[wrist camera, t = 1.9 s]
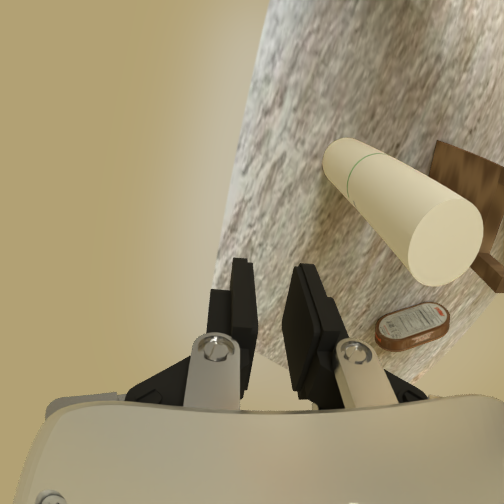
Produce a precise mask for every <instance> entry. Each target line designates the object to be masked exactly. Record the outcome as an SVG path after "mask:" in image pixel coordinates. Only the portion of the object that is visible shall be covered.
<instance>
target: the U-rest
mask: <svg viewBox="0 0 504 504" xmlns="http://www.w3.org/2000/svg"><path fill="white" fill-rule="evenodd" d="M429 177H430V178H432V179H433V180H435V181H437V182H438V183H440V184H442V185H444V186H445V187H447V188H449V189H450V190H452V191H453V192H455V193H457V194H458V195H460V196H462V197H463V198H465V199H466V200H468V201H469V202H471V203H472V204H473V205H474V206H475V207H476V208H477V209H478V211H479V212H480V214H481V217H482V220H483V239H482V244H481V246H480V249H479V252H478V254H477V256H476V258H475V260H474V261H473V263H472V264H471V265H470V267H471V268H472V269H473V270H474V271H475V272H476V273H477V274H478V275H479V276H480V277H481V278H482V279H483V280H484V281H485V282H486V283H487V285H488V286H489V287H490V288H491V289H492V290H493V291H494V292H495V293H504V266H502V265H501V264H500V263H499V262H498V261H497V260H496V259H495V258H493V257H492V256H491V255H490V254H489V253H490V250H491V248H492V245H493V243H494V240H495V237H496V235H497V232H498V229H499V226H500V223H501V221H502V218H503V215H504V167H503V166H501V165H499V164H496V163H494V162H492V161H490V160H487V159H485V158H483V157H480V156H478V155H475V154H473V153H471V152H468V151H466V150H463V149H461V148H458V147H455V146H453V145H450V144H447V143H444V142H441V141H438V140H437V143H436V147H435V152H434V156H433V161H432V165H431V169H430V173H429Z"/></svg>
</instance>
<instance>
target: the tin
mask: <svg viewBox="0 0 504 504" xmlns="http://www.w3.org/2000/svg"><path fill="white" fill-rule="evenodd" d="M449 322H450V314H449V312H448V310H447V309H446V308H445V307H443V306H442V305H440V304H438V303H433V302H425V303H421V304H418V305H415V306H411V307H408V308H405V309H402V310H399V311H395V312H392V313H389V314H386V315H384V316H383V317H381V318H380V319H379V320H378V322H377V324H376V327H375V341H376V343H377V344H378V346H380V347H381V348H382V349H384V350H387V351H391V352H400V351H404V350H407V349H410V348H413V347H416V346H419V345H422V344H425V343H428V342H431V341H433V340H436V339H439V338H441V337H443V336H444V335H445V334H446V333H447V332H448V330H449Z"/></svg>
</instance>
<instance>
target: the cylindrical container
mask: <svg viewBox="0 0 504 504" xmlns="http://www.w3.org/2000/svg"><path fill="white" fill-rule="evenodd" d="M322 165H323V170H324V173H325V175H326V177H327V178H328V180H329V181H330V182H331V183H332V184H333V185H334V186H335V187H336V188H337V189H338V190H339V191H340V192H341V193H342V194H343V195H344V196H345V197H346V199H347V200H348V201H349V202H350V203H351V204H352V205H353V206H354V207H355V208H356V209H357V211H358V212H359V213H360V214H361V215H362V216H363V217H364V218H365V220H366V221H367V222H368V223H369V224H370V225H371V226H372V227H373V229H374V230H375V231H376V232H377V233H378V234H379V235H380V237H381V238H382V239H383V240H384V241H385V243H386V244H387V245H388V246H389V247H390V248H391V250H392V251H393V252H394V253H395V254H396V256H397V257H398V258H399V259H400V261H401V262H402V263H403V264H404V265H405V267H406V268H407V269H408V270H409V272H410V273H411V274H412V275H413V277H414V278H415V279H416V280H417V281H418V282H420V283H422V284H423V285H427V286H441V285H445V284H448V283H450V282H452V281H454V280H455V279H457V278H458V277H459V276H461V275H462V274H463V273H464V272H465V271H466V270H467V269H468V268H469V267H470V265H471V264H472V263H473V261H474V260H475V258H476V256H477V254H478V252H479V249H480V246H481V244H482V239H483V220H482V217H481V214H480V212H479V211H478V209H477V208H476V207H475V206H474V205H473V204H472V203H471V202H469V201H468V200H466V199H465V198H463V197H462V196H460V195H458V194H457V193H455V192H453V191H452V190H450V189H449V188H447V187H445V186H444V185H442V184H440V183H438V182H437V181H435V180H433V179H432V178H430V177H428V176H426V175H425V174H423V173H421V172H419V171H417V170H416V169H414V168H412V167H410V166H408V165H406V164H405V163H403V162H401V161H399V160H397V159H395V158H393V157H391V156H389V155H387V154H385V153H383V152H381V151H379V150H377V149H375V148H373V147H371V146H369V145H367V144H365V143H363V142H361V141H359V140H356V139H354V138H341V139H338V140H336V141H334V142H333V143H331V144H330V145H329V147H328V148H327V149H326V151H325V153H324V156H323V161H322Z"/></svg>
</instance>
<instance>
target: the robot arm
mask: <svg viewBox="0 0 504 504" xmlns="http://www.w3.org/2000/svg"><path fill="white" fill-rule="evenodd" d="M282 331H283V337H284V343H285V349H286V354H287V360H288V366H289V372H290V378H291V383H292V389H293V391H297V392H298V397H299V399H300V400H301V399H308V400H310V401H311V402H313V404H312V410H307V411H246V410H240V399H242V398H243V395H244V390H247V388H248V383H249V378H250V372H251V367H252V361H253V357H254V351H255V346H256V340H257V335H258V316H257V305H256V294H255V283H254V273H253V263H248V260H247V259H244V258H233V263H232V272H231V281H230V291H229V290H217V289H211V292H210V302H209V312H208V323H207V332H206V334H203V335H201V336H199V337H198V338H197V339H196V340H195V341H194V343H193V346H192V352H191V356H189V357H187V358H185V359H183V360H182V361H180V362H178V363H176V364H174V365H173V366H171V367H169V368H167V369H165V370H163V371H162V372H160V373H158V374H156V375H154V376H152V377H151V378H149V379H147V380H145V381H143V382H141V383H139V384H137V385H136V386H134V387H133V388H131V389H130V390H129V391H128V393H127V394H122V395H117V392H111V393H102V394H94V395H83V396H72V397H62V398H58V399H55V400H54V401H52V402H51V403H50V404H49V405H48V407H47V409H46V414H45V418H46V419H45V422H44V423H43V425H42V426H41V428H40V430H39V431H38V433H37V435H36V437H35V439H34V441H33V443H32V446H31V448H30V450H29V452H28V455H27V457H26V460H25V463H24V467H23V469H22V472H21V475H20V479H19V482H18V486H17V489H16V493H15V497H14V501H13V504H504V402H503V401H501V400H499V399H497V398H494V397H490V396H485V395H477V394H468V395H467V394H466V395H455V396H447V397H440V396H435V395H429V396H428V397H427V396H426V395H425V394H424V392H422V391H421V390H420V389H418V388H416V387H415V386H413V385H411V384H409V383H408V382H406V381H404V380H402V379H400V378H399V377H397V376H395V375H393V374H392V373H390V372H388V371H386V370H385V369H383V367H382V365H381V363H380V360H379V358H378V356H377V354H376V352H375V350H374V349H373V347H372V346H370V345H369V344H368V343H367V342H365V341H363V340H360V339H357V338H349V336H348V334H347V331H346V329H345V326H344V324H343V321H342V319H341V316H340V314H339V311H338V309H337V306H336V304H335V301H334V299H333V298H331V297H327V295H326V292H325V290H324V287H323V285H322V282H321V280H320V277H319V275H318V272H317V270H316V267H315V265H314V264H304V263H300V264H299V266H298V267H296V266H295V267H294V269H293V274H292V278H291V283H290V287H289V292H288V296H287V301H286V305H285V310H284V314H283V318H282Z"/></svg>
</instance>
